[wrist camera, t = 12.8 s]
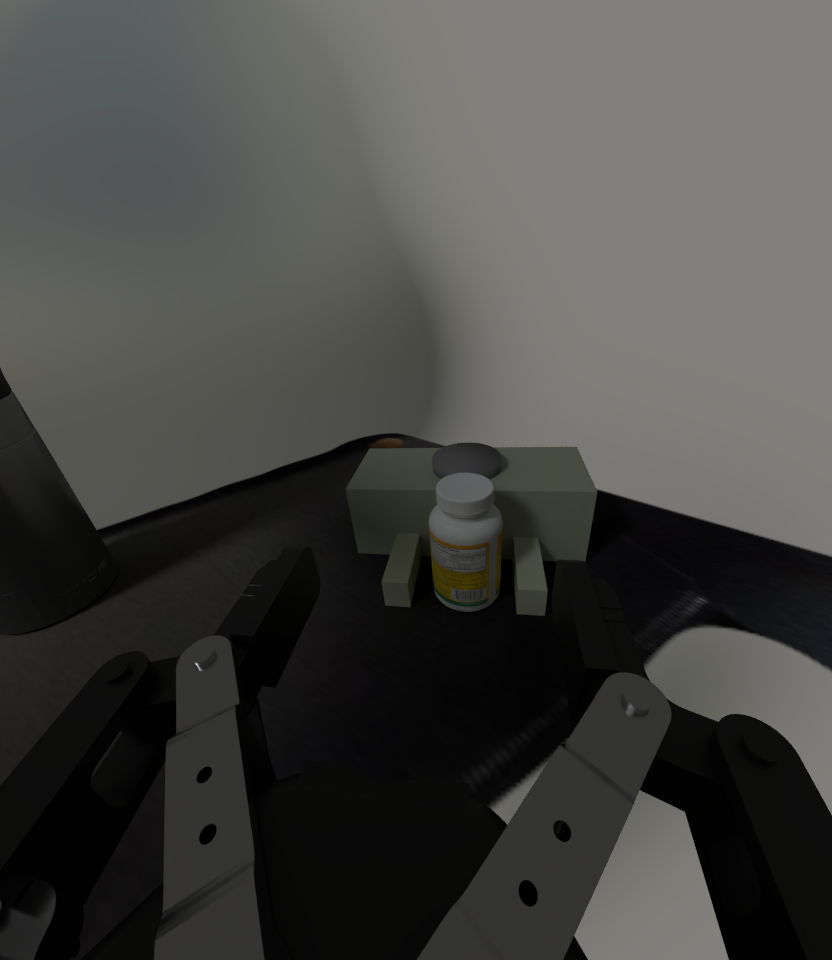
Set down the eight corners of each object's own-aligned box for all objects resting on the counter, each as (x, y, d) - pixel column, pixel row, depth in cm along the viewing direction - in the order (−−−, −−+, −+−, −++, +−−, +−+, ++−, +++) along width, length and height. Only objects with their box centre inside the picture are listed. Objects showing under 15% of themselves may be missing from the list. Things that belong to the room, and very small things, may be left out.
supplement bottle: (467, 626, 28) (464, 518, 24) (420, 587, 32) (409, 487, 27) (514, 588, 31) (520, 484, 26) (466, 556, 35) (463, 460, 30)
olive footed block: (337, 602, 31) (316, 521, 27) (378, 505, 43) (368, 439, 39) (603, 619, 28) (623, 529, 24) (568, 509, 40) (578, 436, 36)
